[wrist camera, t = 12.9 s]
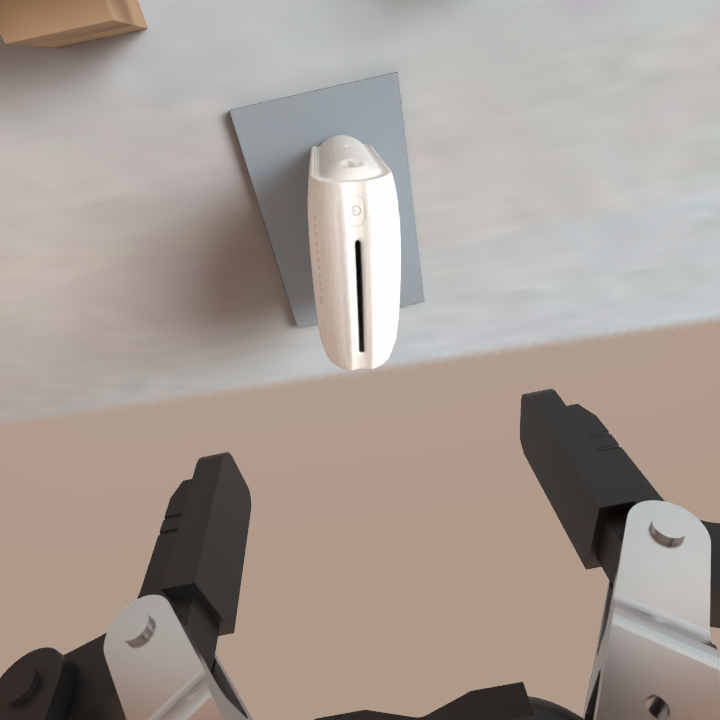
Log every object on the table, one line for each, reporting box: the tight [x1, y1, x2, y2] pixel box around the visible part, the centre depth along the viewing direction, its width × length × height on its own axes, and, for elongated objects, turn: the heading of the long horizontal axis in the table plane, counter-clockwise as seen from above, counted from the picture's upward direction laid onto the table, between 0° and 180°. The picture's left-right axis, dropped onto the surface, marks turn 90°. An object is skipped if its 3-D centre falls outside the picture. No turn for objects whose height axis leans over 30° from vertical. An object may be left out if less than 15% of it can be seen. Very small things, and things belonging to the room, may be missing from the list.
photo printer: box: [308, 135, 401, 370], centre depth 24 cm, size 10×4×12 cm, turn 2°
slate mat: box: [230, 72, 424, 328], centre depth 30 cm, size 15×10×1 cm, turn 11°
